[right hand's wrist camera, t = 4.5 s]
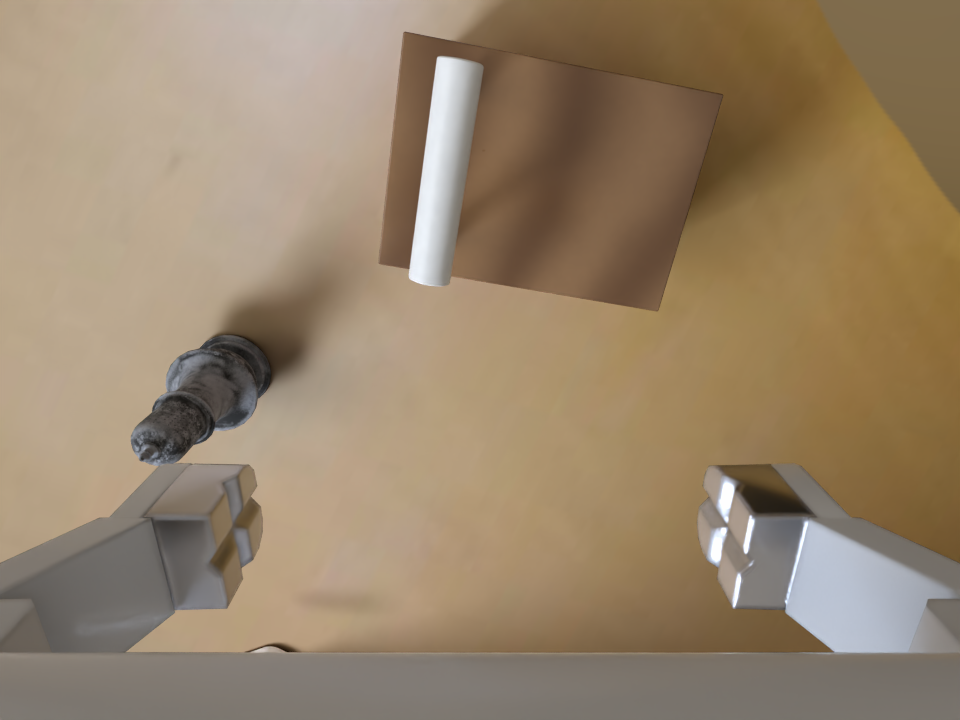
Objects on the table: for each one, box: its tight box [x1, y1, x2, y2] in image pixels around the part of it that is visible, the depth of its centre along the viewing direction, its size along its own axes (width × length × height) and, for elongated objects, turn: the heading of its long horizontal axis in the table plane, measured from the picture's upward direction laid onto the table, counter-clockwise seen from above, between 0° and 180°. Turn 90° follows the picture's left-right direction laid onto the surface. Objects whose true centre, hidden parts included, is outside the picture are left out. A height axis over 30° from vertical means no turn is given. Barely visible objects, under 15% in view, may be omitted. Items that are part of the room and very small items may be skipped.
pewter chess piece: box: [131, 335, 271, 466], centre depth 35 cm, size 6×6×12 cm
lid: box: [378, 32, 723, 311], centre depth 23 cm, size 14×10×8 cm
